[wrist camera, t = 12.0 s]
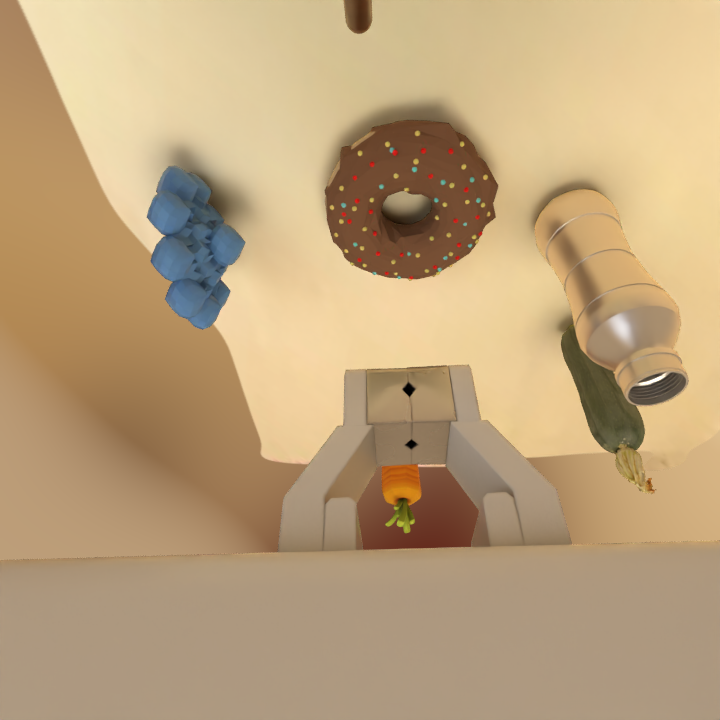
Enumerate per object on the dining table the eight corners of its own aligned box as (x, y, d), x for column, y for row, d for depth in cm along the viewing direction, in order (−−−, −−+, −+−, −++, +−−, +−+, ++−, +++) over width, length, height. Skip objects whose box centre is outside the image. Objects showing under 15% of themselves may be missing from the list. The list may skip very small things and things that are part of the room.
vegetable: (545, 321, 55) (605, 490, 42) (582, 299, 53) (658, 471, 40) (565, 341, 58) (628, 507, 44) (601, 321, 55) (680, 490, 42)
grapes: (273, 256, 49) (257, 348, 41) (205, 265, 50) (176, 357, 42) (233, 136, 40) (203, 223, 32) (152, 149, 41) (102, 236, 33)
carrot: (410, 435, 72) (419, 540, 62) (375, 431, 71) (379, 537, 61) (420, 414, 68) (430, 522, 58) (383, 411, 67) (388, 519, 57)
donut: (438, 273, 50) (444, 308, 47) (305, 228, 47) (301, 263, 43) (525, 141, 41) (540, 172, 37) (366, 70, 37) (367, 98, 33)
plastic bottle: (514, 216, 46) (580, 393, 32) (583, 163, 42) (689, 337, 29) (554, 256, 49) (629, 431, 36) (621, 209, 45) (733, 385, 32)
